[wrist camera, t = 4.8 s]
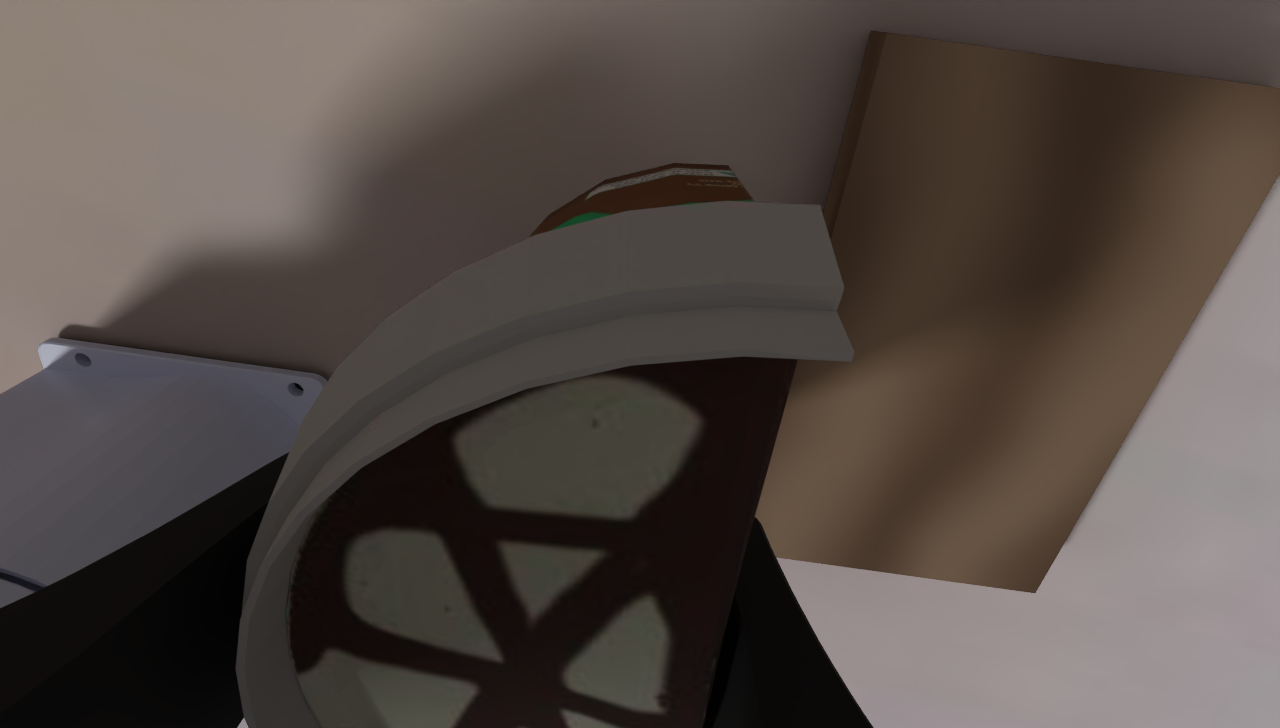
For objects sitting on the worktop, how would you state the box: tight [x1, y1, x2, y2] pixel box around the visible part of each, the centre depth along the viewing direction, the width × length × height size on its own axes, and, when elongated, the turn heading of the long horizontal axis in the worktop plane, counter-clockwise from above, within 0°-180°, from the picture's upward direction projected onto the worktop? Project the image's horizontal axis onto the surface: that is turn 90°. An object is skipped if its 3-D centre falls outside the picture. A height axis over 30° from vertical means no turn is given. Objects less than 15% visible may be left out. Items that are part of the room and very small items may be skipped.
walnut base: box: [755, 31, 1280, 593], centre depth 19 cm, size 10×16×2 cm, turn 173°
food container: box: [236, 163, 854, 728], centre depth 12 cm, size 12×6×10 cm, turn 173°
